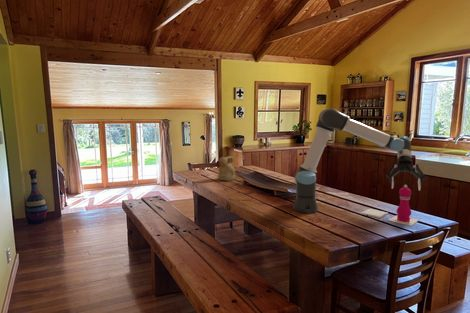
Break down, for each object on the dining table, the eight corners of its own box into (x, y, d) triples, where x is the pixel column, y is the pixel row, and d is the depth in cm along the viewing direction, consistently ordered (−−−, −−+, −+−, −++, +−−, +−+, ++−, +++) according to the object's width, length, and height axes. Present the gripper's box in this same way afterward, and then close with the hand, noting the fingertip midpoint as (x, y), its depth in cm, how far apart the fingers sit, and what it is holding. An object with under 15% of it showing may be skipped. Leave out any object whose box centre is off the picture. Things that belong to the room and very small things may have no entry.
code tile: (411, 225, 169) (411, 225, 169) (387, 220, 178) (387, 220, 178) (418, 220, 177) (418, 220, 177) (396, 215, 186) (396, 215, 186)
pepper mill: (393, 218, 181) (395, 183, 178) (405, 217, 181) (407, 183, 179) (401, 222, 174) (403, 186, 171) (413, 222, 174) (416, 186, 172)
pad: (380, 218, 181) (380, 216, 181) (361, 214, 189) (361, 212, 189) (387, 214, 189) (387, 212, 189) (369, 210, 197) (369, 208, 197)
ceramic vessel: (213, 180, 289) (213, 152, 286) (226, 176, 305) (226, 150, 302) (228, 182, 279) (228, 154, 276) (241, 178, 295) (240, 151, 292)
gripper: (427, 163, 192) (430, 193, 180) (381, 161, 201) (381, 190, 189) (429, 155, 186) (432, 186, 174) (382, 154, 195) (382, 183, 184)
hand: (406, 188), depth 182 cm, fingers open, 13 cm apart
